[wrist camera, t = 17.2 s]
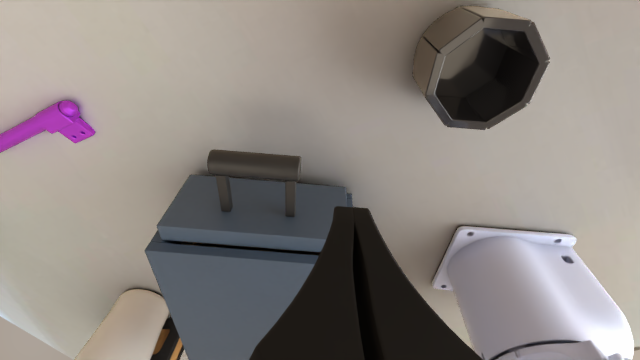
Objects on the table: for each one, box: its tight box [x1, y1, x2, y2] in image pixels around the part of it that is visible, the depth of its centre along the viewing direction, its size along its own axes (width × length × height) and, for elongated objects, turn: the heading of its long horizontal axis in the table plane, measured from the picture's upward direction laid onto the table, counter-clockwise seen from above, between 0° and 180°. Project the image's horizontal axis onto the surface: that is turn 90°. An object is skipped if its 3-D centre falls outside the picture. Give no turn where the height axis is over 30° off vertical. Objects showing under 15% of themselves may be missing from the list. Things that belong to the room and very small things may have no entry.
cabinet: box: [145, 193, 353, 360], centre depth 25 cm, size 14×12×7 cm
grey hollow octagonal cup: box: [412, 6, 550, 130], centre depth 16 cm, size 5×5×4 cm
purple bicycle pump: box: [0, 101, 95, 153], centre depth 23 cm, size 3×1×16 cm
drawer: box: [157, 150, 347, 255], centre depth 23 cm, size 18×11×5 cm, turn 176°
